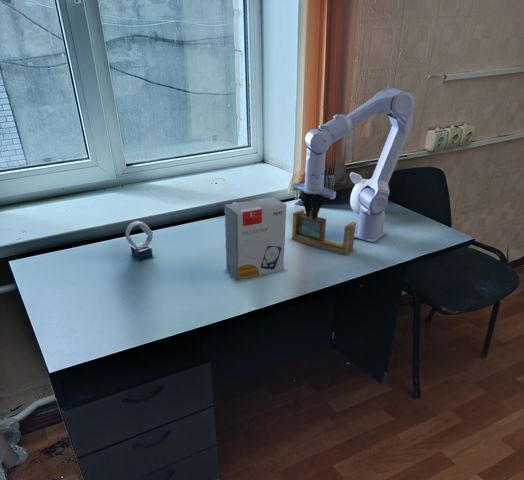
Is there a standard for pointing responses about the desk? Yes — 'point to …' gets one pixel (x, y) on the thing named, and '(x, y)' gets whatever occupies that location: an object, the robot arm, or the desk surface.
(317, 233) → the sash
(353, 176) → the piggy bank
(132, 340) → the desk surface
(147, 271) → the desk surface
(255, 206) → the hard drive box
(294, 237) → the window frame
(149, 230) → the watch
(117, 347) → the desk surface
